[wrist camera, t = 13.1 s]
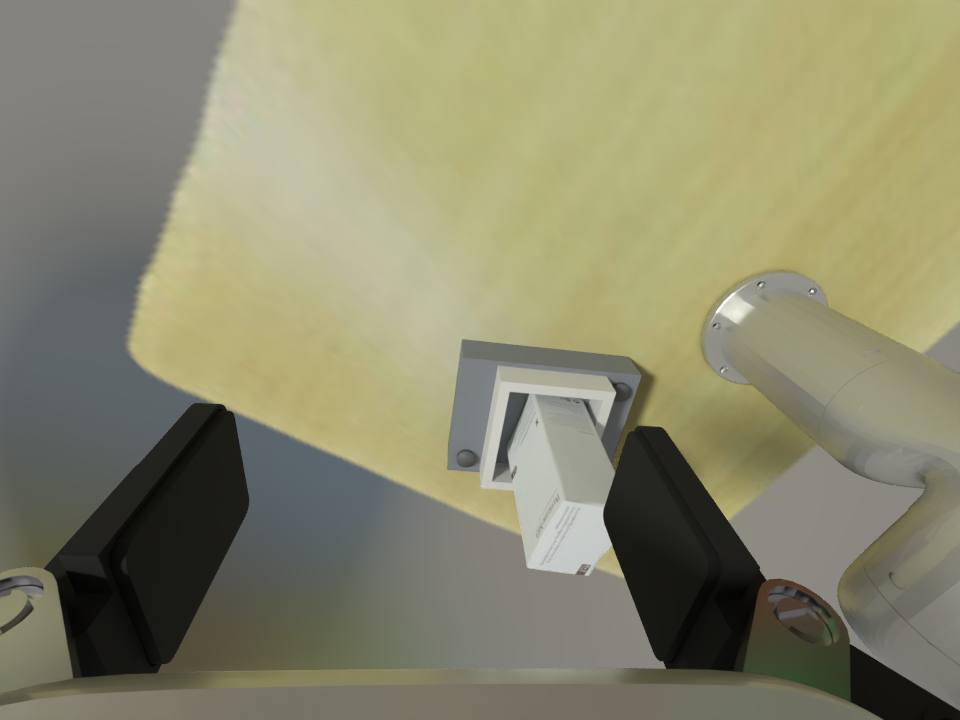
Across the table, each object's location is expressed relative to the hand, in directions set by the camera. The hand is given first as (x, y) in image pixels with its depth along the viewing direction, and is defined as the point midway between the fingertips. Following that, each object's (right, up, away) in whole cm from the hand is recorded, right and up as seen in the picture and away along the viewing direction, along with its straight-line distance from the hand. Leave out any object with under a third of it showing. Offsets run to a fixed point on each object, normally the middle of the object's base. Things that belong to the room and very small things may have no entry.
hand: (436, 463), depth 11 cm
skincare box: (+8, -4, +37) cm, 38 cm away
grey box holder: (+7, -2, +40) cm, 41 cm away
